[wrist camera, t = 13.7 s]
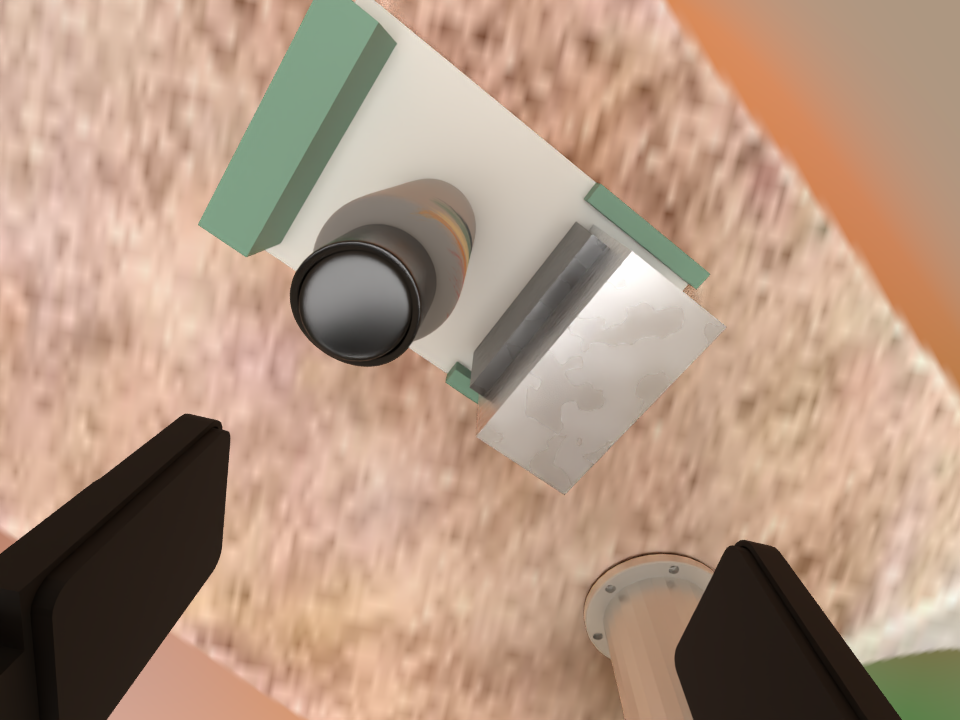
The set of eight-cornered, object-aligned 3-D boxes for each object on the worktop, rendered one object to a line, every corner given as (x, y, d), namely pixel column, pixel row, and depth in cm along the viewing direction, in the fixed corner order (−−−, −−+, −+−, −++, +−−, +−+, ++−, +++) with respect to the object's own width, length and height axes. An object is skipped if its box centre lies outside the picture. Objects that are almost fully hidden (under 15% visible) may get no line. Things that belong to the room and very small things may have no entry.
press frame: (693, 264, 35) (734, 287, 29) (544, 431, 40) (553, 479, 34) (367, -3, 30) (335, -43, 24) (243, 225, 35) (190, 239, 29)
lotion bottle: (371, 235, 33) (216, 334, 15) (418, 158, 32) (310, 160, 13) (444, 285, 35) (386, 436, 16) (494, 213, 33) (493, 288, 14)
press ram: (663, 280, 34) (726, 326, 25) (547, 411, 38) (564, 494, 28) (581, 214, 33) (615, 237, 23) (469, 357, 36) (460, 426, 27)
